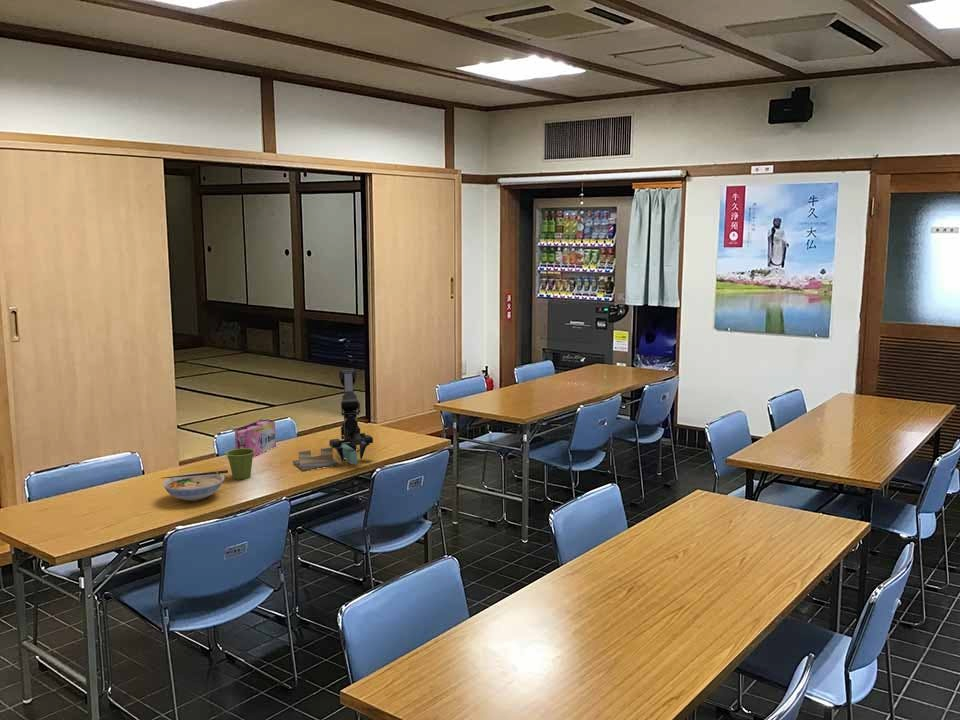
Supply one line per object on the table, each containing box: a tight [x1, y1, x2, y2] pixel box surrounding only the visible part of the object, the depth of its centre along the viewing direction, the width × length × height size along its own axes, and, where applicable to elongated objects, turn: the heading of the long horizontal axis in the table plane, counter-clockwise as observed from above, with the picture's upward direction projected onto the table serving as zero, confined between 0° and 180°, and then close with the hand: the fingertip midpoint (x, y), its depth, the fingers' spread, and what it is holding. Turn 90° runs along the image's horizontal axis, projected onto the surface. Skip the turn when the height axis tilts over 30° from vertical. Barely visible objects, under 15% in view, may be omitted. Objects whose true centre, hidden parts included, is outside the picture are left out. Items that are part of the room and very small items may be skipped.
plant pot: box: [225, 449, 255, 481], centre depth 340 cm, size 12×12×11 cm
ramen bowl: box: [160, 469, 229, 502], centre depth 312 cm, size 25×23×8 cm
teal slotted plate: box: [337, 444, 358, 465], centre depth 366 cm, size 18×3×6 cm, turn 28°
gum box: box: [234, 419, 277, 458], centre depth 381 cm, size 24×8×14 cm, turn 162°
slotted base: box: [292, 446, 341, 472], centre depth 359 cm, size 16×17×7 cm
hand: (352, 460), depth 360 cm, fingers open, 8 cm apart
